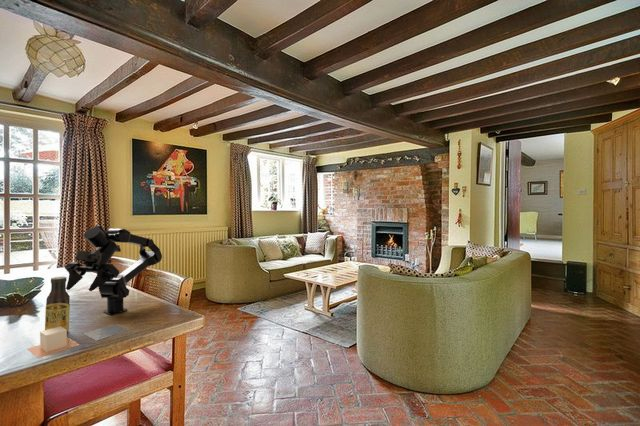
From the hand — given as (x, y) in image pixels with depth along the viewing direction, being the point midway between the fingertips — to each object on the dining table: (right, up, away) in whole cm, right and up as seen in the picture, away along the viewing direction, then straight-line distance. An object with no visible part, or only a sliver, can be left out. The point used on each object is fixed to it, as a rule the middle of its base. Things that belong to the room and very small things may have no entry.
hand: (78, 290), depth 111 cm
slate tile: (+13, -14, -5) cm, 20 cm away
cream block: (+5, -13, -16) cm, 21 cm away
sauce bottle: (-1, -14, -7) cm, 16 cm away
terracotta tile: (+5, -14, -16) cm, 22 cm away
